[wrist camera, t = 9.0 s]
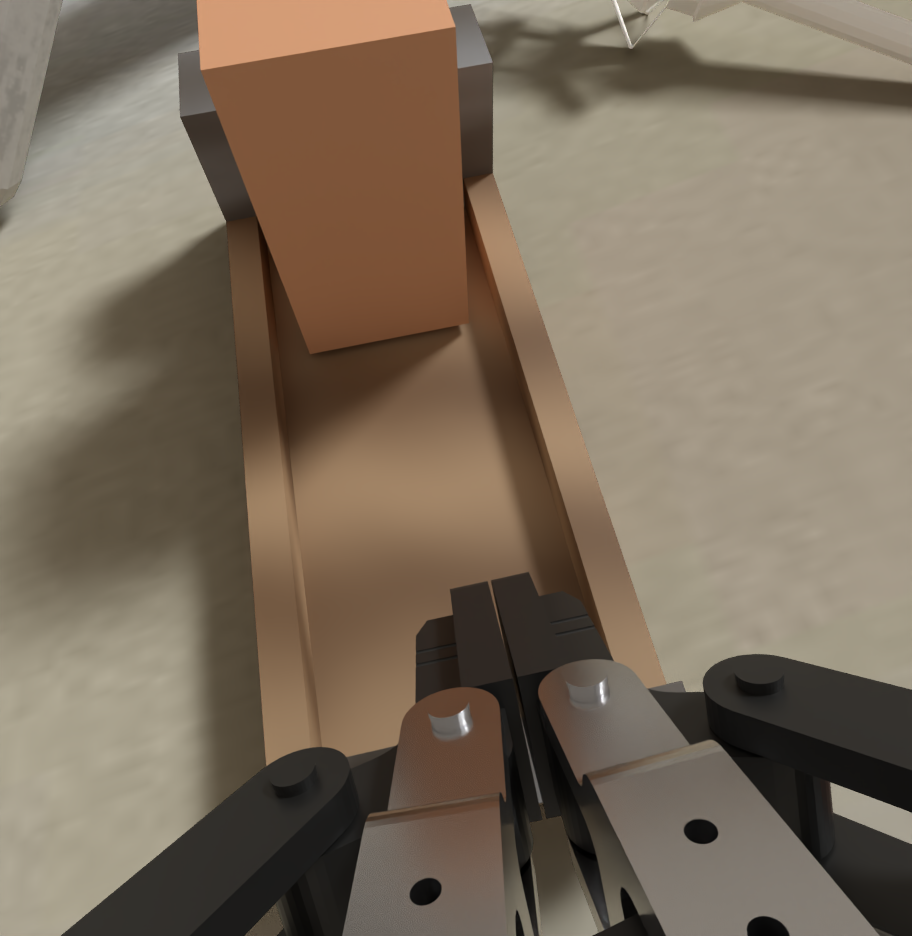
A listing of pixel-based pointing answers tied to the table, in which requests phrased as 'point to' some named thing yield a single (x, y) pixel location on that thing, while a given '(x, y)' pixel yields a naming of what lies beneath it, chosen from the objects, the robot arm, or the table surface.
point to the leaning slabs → (22, 80)
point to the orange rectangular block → (347, 156)
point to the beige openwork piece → (808, 20)
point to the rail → (403, 463)
